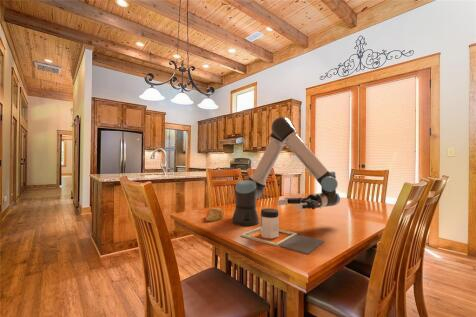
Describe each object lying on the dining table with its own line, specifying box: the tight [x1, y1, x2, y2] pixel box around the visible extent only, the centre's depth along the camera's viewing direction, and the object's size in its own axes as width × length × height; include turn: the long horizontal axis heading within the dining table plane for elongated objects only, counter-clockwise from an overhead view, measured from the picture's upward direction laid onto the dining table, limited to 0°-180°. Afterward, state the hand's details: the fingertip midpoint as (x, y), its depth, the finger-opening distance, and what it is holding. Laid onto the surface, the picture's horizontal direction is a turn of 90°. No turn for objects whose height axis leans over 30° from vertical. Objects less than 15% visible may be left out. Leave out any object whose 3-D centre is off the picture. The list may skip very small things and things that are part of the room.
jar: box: [259, 208, 280, 240], centre depth 108 cm, size 9×8×12 cm
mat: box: [279, 234, 325, 255], centre depth 97 cm, size 12×18×1 cm, turn 141°
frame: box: [240, 226, 298, 248], centre depth 108 cm, size 19×19×1 cm
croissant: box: [205, 206, 224, 222], centre depth 139 cm, size 21×10×8 cm, turn 162°
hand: (286, 204), depth 113 cm, fingers open, 13 cm apart
